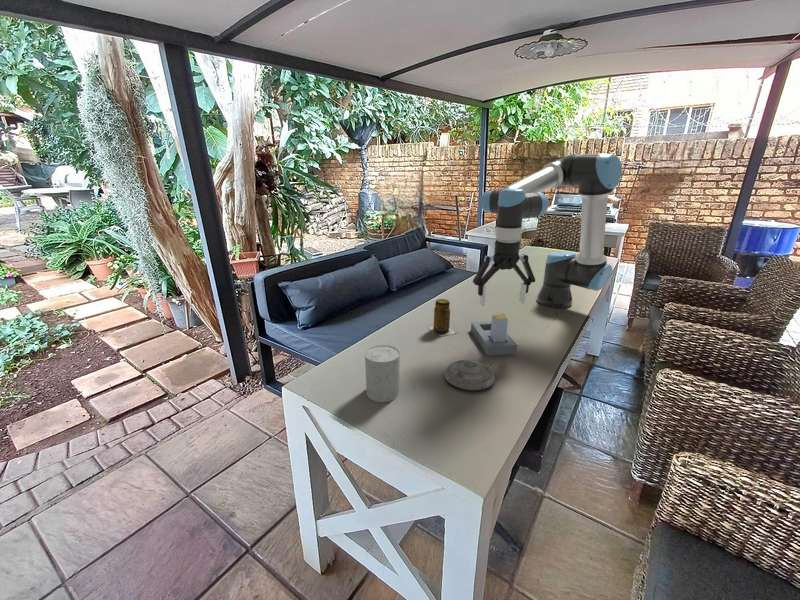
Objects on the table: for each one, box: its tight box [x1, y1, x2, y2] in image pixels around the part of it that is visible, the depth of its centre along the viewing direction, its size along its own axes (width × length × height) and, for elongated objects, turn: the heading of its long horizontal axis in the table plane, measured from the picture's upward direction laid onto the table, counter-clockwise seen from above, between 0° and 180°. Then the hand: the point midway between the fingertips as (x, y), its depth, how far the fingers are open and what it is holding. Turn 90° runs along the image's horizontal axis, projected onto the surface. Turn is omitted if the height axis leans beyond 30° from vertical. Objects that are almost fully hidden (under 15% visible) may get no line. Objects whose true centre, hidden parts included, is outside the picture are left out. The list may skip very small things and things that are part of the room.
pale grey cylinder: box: [364, 344, 401, 403], centre depth 102 cm, size 10×10×12 cm
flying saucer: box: [443, 359, 496, 391], centre depth 109 cm, size 15×15×6 cm
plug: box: [490, 312, 509, 343], centre depth 126 cm, size 4×4×12 cm
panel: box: [470, 320, 518, 357], centre depth 132 cm, size 10×20×4 cm, turn 6°
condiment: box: [428, 298, 457, 337], centre depth 140 cm, size 7×8×12 cm
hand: (502, 303), depth 123 cm, fingers open, 13 cm apart
